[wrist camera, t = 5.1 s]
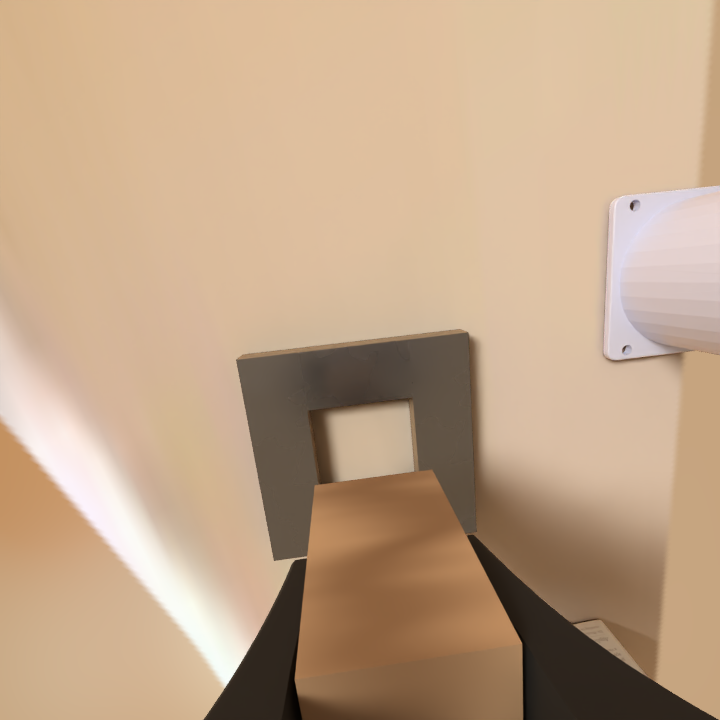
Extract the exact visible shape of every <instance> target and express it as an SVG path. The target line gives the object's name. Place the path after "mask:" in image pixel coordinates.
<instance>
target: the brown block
mask: <svg viewBox="0 0 720 720" xmlns="http://www.w3.org/2000/svg"><path fill="white" fill-rule="evenodd" d="M295 684H296V689H297V694H298V700H299V705H300V710H301V715H302V720H523V666H522V642H521V640H520V638H519V637H518V635H517V633H516V631H515V629H514V627H513V625H512V623H511V621H510V619H509V617H508V615H507V613H506V611H505V609H504V607H503V606H502V604H501V602H500V600H499V598H498V596H497V594H496V592H495V590H494V588H493V586H492V584H491V582H490V580H489V578H488V576H487V575H486V573H485V571H484V569H483V567H482V565H481V563H480V561H479V559H478V557H477V555H476V553H475V551H474V549H473V547H472V546H471V544H470V542H469V540H468V538H467V536H466V534H465V532H464V530H463V528H462V526H461V524H460V522H459V520H458V518H457V516H456V515H455V513H454V511H453V509H452V507H451V505H450V503H449V501H448V499H447V497H446V495H445V493H444V491H443V489H442V487H441V486H440V484H439V482H438V480H437V478H436V476H435V474H434V472H433V470H425V471H417V472H410V473H402V474H395V475H388V476H380V477H373V478H365V479H358V480H350V481H343V482H335V483H328V484H321V485H315V487H314V497H313V506H312V516H311V526H310V536H309V545H308V555H307V565H306V574H305V584H304V594H303V603H302V613H301V623H300V633H299V642H298V652H297V662H296V671H295Z"/></svg>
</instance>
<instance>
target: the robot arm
mask: <svg viewBox="0 0 720 720" xmlns="http://www.w3.org/2000/svg"><path fill="white" fill-rule="evenodd" d="M631 202H632V203H633V205H634V208H633V210H631V209H630V203H631ZM624 346H626V349H625V351H624V352H623V353H622V349H623V347H624ZM688 351H701V352H707V353H712V354H717V355H720V186H712V187H702V188H693V189H683V190H674V191H664V192H654V193H645V194H635V195H625V196H622V197H618V198H616V199H615V200H613V201H612V203H611V205H610V208H609V229H608V253H607V277H606V301H605V324H604V348H603V352H604V355H605V357H606V358H608V359H611V360H623V359H631V358H640V357H648V356H656V355H664V354H672V353H680V352H688ZM467 538H468V540H469V542H470V544H471V546H472V547H473V549H474V551H475V553H476V555H477V557H478V559H479V561H480V563H481V565H482V567H483V569H484V571H485V573H486V575H487V576H488V578H489V580H490V582H491V584H492V586H493V588H494V590H495V592H496V594H497V596H498V598H499V600H500V602H501V604H502V606H503V607H504V609H505V611H506V613H507V615H508V617H509V619H510V621H511V623H512V625H513V627H514V629H515V631H516V633H517V635H518V637H519V638H520V640H521V642H522V666H523V720H718V719H716V718H714V717H713V716H711V715H709V714H707V713H706V712H704V711H702V710H700V709H699V708H697V707H695V706H693V705H692V704H690V703H688V702H687V701H685V700H683V699H682V698H680V697H678V696H677V695H675V694H673V693H672V692H670V691H669V690H667V689H665V688H664V687H662V686H661V685H659V684H658V683H656V682H654V681H653V680H651V679H650V678H648V677H647V676H645V675H643V674H642V673H640V672H639V671H637V670H636V669H634V668H633V667H631V666H629V665H628V664H626V663H625V662H624V661H622V660H621V659H619V658H618V657H616V656H615V655H613V654H612V653H610V652H609V651H608V650H606V649H605V648H603V647H602V646H601V645H599V644H598V643H597V642H595V641H594V640H592V639H591V638H590V637H588V636H587V635H586V634H584V633H583V632H582V631H580V630H579V629H578V628H576V627H575V626H574V625H573V624H571V623H570V622H569V621H568V620H566V619H565V618H564V617H563V616H561V615H560V614H559V613H558V612H557V611H555V610H554V609H553V608H552V607H550V606H549V605H548V604H547V603H546V602H545V601H543V600H542V599H541V598H540V597H539V596H538V595H536V594H535V593H534V592H533V591H532V590H531V589H530V588H529V587H527V586H526V585H525V584H524V583H523V582H522V581H521V580H520V579H519V578H517V577H516V576H515V575H514V574H513V573H512V572H511V571H510V570H509V569H508V568H507V567H506V566H505V565H504V564H503V563H502V562H501V561H500V560H499V559H497V558H496V557H495V556H494V555H493V554H492V553H491V552H490V551H489V550H488V549H487V548H486V547H485V546H484V545H483V544H482V543H481V542H480V541H479V540H478V539H477V538H476V537H475V536H474V535H468V536H467ZM306 565H307V559H300V560H295V561H294V562H293V563H292V565H291V568H290V570H289V572H288V575H287V577H286V579H285V581H284V584H283V586H282V588H281V590H280V592H279V594H278V596H277V598H276V600H275V602H274V604H273V606H272V608H271V610H270V612H269V614H268V616H267V618H266V620H265V622H264V624H263V625H262V627H261V629H260V631H259V633H258V635H257V636H256V638H255V640H254V642H253V643H252V645H251V647H250V648H249V650H248V652H247V654H246V655H245V657H244V659H243V660H242V662H241V664H240V665H239V667H238V669H237V670H236V672H235V673H234V675H233V677H232V678H231V680H230V681H229V683H228V684H227V686H226V688H225V689H224V691H223V692H222V694H221V695H220V697H219V698H218V700H217V701H216V702H215V704H214V706H213V707H212V708H211V710H210V711H209V713H208V714H207V716H206V717H205V718H204V720H302V715H301V710H300V705H299V700H298V694H297V689H296V684H295V671H296V662H297V652H298V642H299V633H300V623H301V613H302V603H303V594H304V584H305V574H306Z"/></svg>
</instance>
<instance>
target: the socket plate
mask: <svg viewBox="0 0 720 720" xmlns="http://www.w3.org/2000/svg"><path fill="white" fill-rule="evenodd" d="M236 361H237V367H238V372H239V377H240V383H241V388H242V393H243V399H244V404H245V409H246V414H247V420H248V425H249V430H250V436H251V441H252V446H253V452H254V457H255V462H256V468H257V473H258V478H259V484H260V489H261V494H262V499H263V505H264V510H265V515H266V521H267V526H268V531H269V537H270V542H271V547H272V553H273V558H274V561H276V560H283V559H290V558H297V557H304V556H307V555H308V545H309V536H310V526H311V516H312V506H313V497H314V487H315V485H321V481H320V474H319V467H318V460H317V453H316V447H315V440H314V433H313V426H312V419H311V412H310V410H317V409H325V408H333V407H341V406H349V405H357V404H365V403H373V402H381V401H389V400H397V399H405V398H409V408H410V420H411V432H412V445H413V457H414V469H415V472H417V471H425V470H433V472H434V474H435V476H436V478H437V480H438V482H439V484H440V486H441V487H442V489H443V491H444V493H445V495H446V497H447V499H448V501H449V503H450V505H451V507H452V509H453V511H454V513H455V515H456V516H457V518H458V520H459V522H460V524H461V526H462V528H463V530H464V532H465V533H472V532H477V530H476V506H475V482H474V458H473V434H472V411H471V387H470V363H469V339H468V332H466V331H463V330H460V329H457V330H449V331H440V332H432V333H423V334H415V335H406V336H398V337H389V338H381V339H372V340H364V341H355V342H347V343H338V344H330V345H321V346H313V347H305V348H296V349H288V350H279V351H271V352H262V353H254V354H245V355H242V356H241V357H239V358H238V359H237V360H236Z"/></svg>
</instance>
